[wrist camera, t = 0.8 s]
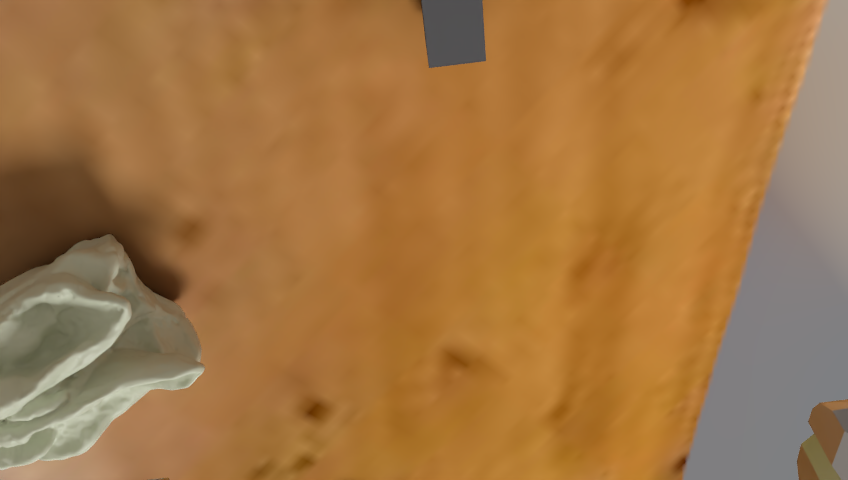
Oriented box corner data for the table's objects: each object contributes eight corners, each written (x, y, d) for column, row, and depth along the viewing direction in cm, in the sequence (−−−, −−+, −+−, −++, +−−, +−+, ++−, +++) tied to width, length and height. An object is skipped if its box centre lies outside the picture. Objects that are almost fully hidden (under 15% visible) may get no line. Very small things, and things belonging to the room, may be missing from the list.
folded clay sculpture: (132, 184, 59) (151, 247, 45) (198, 329, 64) (233, 424, 50) (-126, 281, 54) (-192, 384, 40) (-32, 429, 59) (-62, 564, 45)
